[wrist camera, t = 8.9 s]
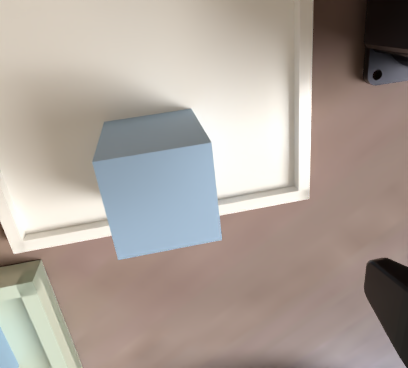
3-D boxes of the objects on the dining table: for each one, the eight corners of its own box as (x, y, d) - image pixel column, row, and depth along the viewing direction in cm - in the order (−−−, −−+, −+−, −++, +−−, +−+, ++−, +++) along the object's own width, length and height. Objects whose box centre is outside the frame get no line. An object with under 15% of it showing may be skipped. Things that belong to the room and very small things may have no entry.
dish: (302, -103, 14) (315, -112, 13) (300, 189, 20) (309, 198, 19) (-103, -65, 13) (-124, -72, 12) (20, 240, 19) (14, 253, 18)
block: (191, 108, 17) (211, 142, 12) (201, 185, 18) (222, 239, 14) (104, 121, 16) (92, 161, 12) (122, 199, 18) (118, 259, 14)
